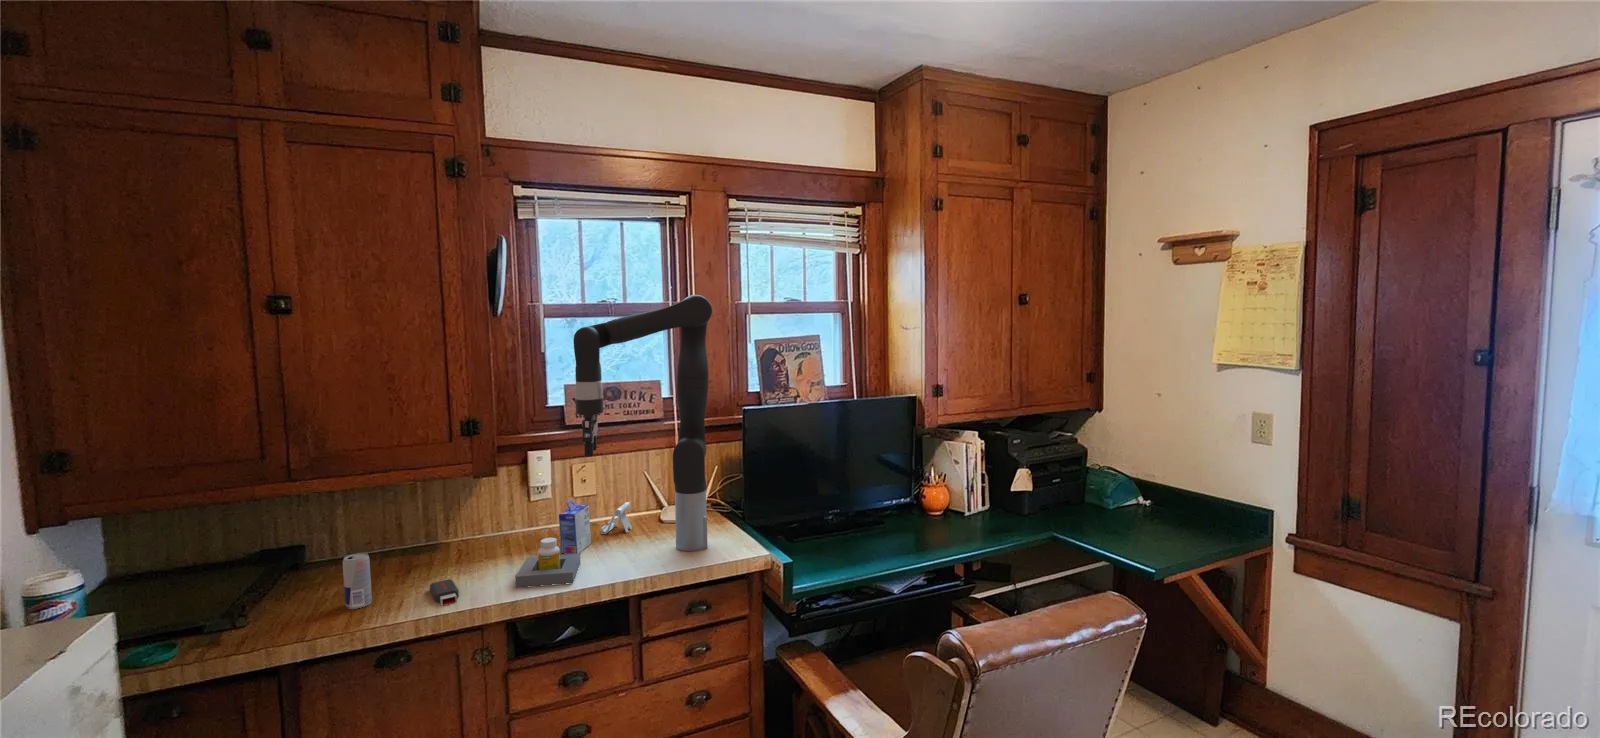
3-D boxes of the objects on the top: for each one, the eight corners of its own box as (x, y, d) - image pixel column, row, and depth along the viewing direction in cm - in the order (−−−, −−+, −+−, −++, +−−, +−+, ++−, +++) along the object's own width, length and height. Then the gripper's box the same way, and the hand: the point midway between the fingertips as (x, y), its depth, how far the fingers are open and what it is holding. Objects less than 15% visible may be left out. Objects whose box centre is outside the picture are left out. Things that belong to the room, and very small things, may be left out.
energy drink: (353, 600, 162) (350, 553, 161) (376, 599, 163) (373, 552, 162) (340, 610, 157) (337, 561, 156) (364, 609, 157) (361, 560, 156)
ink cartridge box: (574, 543, 203) (572, 496, 202) (591, 543, 202) (590, 497, 201) (559, 554, 193) (557, 505, 192) (577, 555, 192) (576, 506, 191)
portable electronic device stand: (611, 526, 219) (610, 501, 218) (634, 526, 218) (633, 502, 218) (601, 534, 211) (600, 509, 210) (624, 535, 210) (624, 509, 209)
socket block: (580, 563, 185) (580, 553, 185) (573, 583, 172) (572, 572, 172) (527, 567, 183) (527, 557, 183) (515, 588, 169) (515, 576, 169)
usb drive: (452, 586, 171) (452, 576, 171) (461, 602, 162) (460, 591, 161) (429, 592, 168) (429, 581, 168) (437, 608, 158) (436, 597, 158)
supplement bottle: (540, 580, 174) (538, 544, 173) (538, 573, 179) (536, 538, 178) (561, 577, 176) (560, 541, 175) (559, 570, 181) (557, 535, 180)
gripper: (600, 399, 182) (601, 457, 183) (605, 393, 196) (606, 447, 197) (571, 400, 181) (573, 459, 182) (578, 394, 195) (580, 448, 196)
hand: (590, 453), depth 190 cm, fingers open, 8 cm apart
